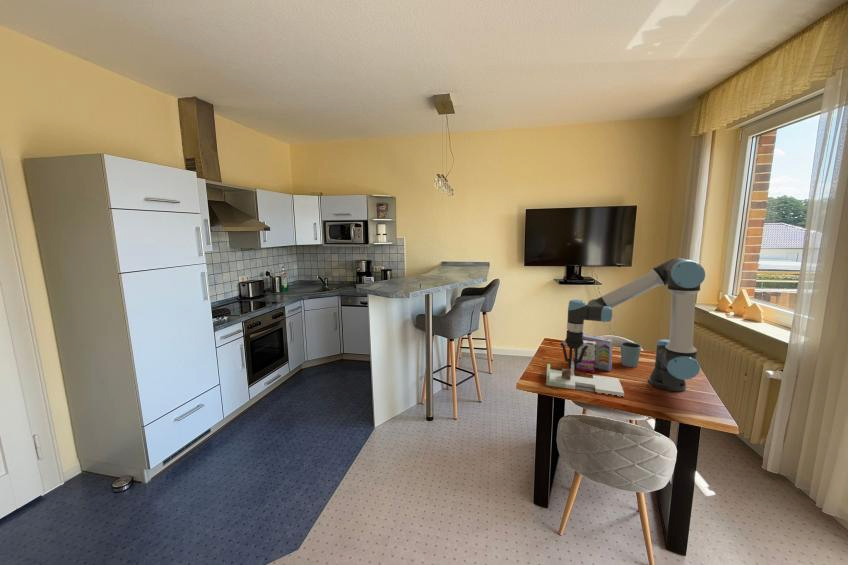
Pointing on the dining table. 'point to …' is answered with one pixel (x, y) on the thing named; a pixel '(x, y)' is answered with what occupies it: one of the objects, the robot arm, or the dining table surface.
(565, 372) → the walnut block
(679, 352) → the robot arm
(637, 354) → the drinking glass
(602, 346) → the cake pan box
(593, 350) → the candy bar box
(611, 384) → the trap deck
